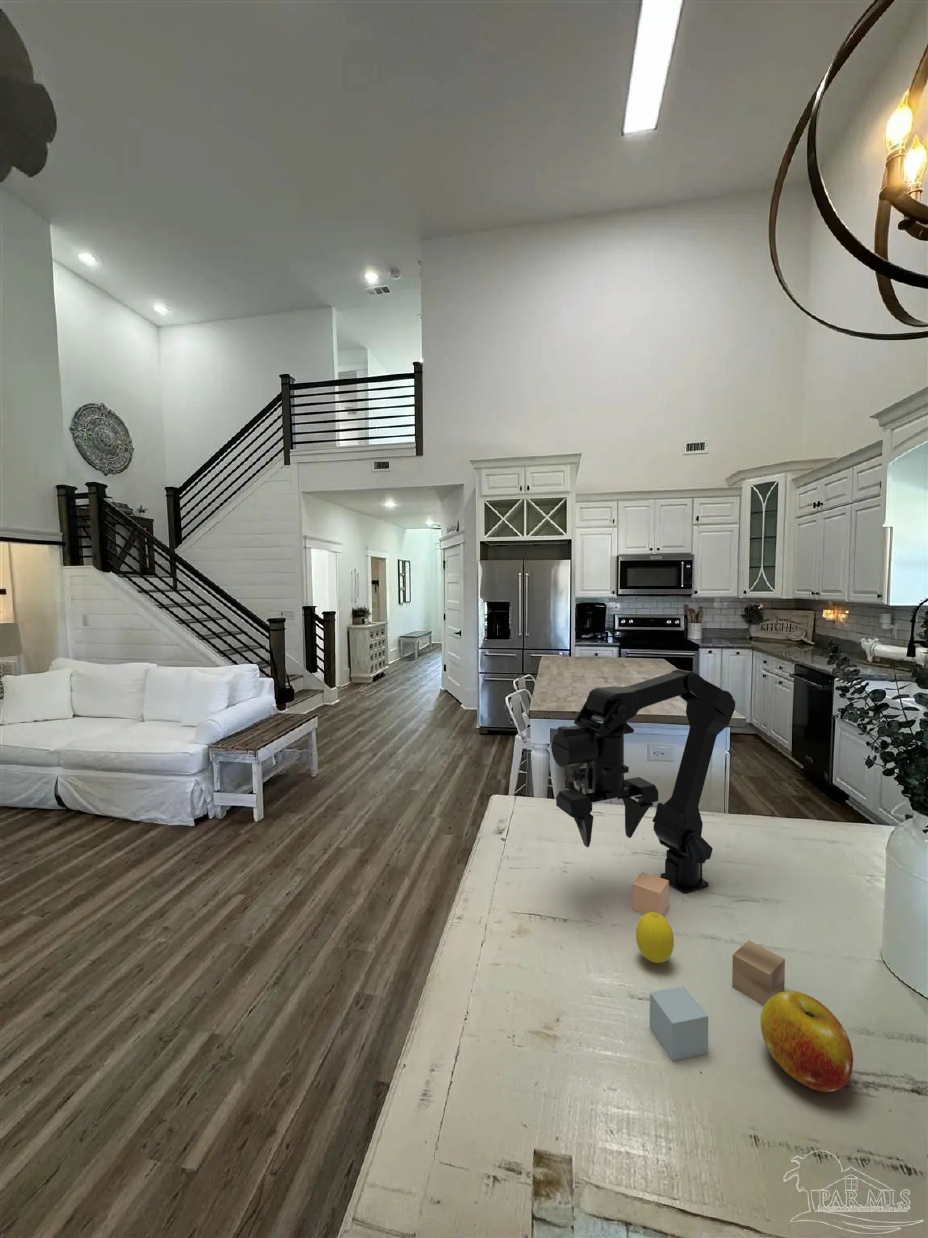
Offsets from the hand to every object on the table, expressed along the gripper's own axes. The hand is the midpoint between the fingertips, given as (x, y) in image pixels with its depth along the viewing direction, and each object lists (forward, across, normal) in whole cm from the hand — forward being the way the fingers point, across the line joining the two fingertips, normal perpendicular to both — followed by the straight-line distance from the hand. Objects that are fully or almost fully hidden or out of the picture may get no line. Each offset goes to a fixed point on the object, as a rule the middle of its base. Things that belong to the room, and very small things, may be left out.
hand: (607, 841), depth 94 cm
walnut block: (+12, -8, +25) cm, 29 cm away
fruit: (+12, -2, +36) cm, 38 cm away
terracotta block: (+12, -6, +4) cm, 14 cm away
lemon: (+12, +2, +15) cm, 19 cm away
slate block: (+12, +9, +27) cm, 31 cm away
